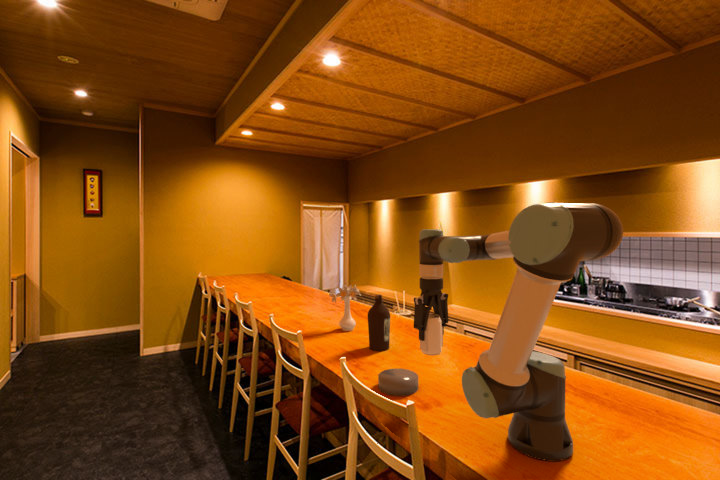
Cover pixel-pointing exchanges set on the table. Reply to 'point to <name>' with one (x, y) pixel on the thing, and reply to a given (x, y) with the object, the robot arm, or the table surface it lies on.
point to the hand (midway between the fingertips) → (431, 347)
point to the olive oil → (379, 326)
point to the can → (434, 335)
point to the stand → (398, 382)
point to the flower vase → (346, 305)
